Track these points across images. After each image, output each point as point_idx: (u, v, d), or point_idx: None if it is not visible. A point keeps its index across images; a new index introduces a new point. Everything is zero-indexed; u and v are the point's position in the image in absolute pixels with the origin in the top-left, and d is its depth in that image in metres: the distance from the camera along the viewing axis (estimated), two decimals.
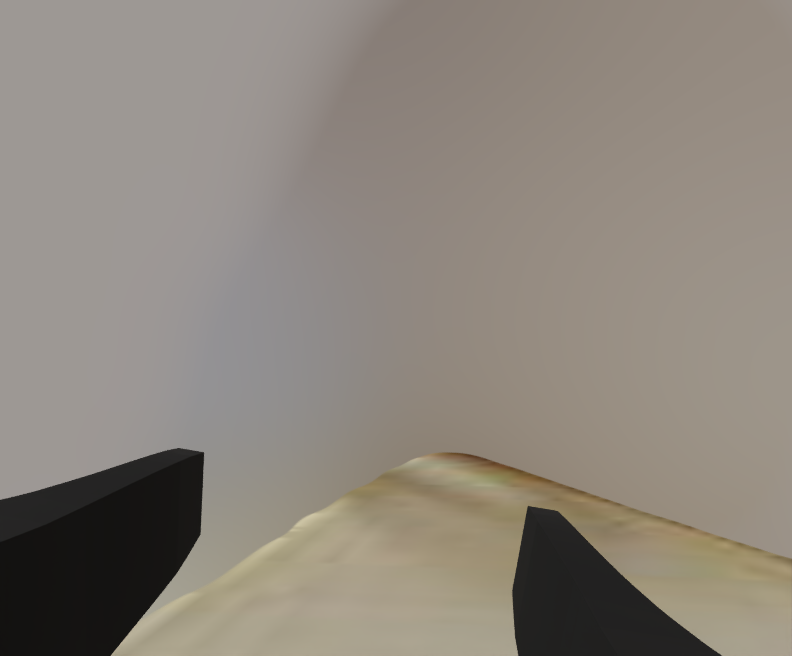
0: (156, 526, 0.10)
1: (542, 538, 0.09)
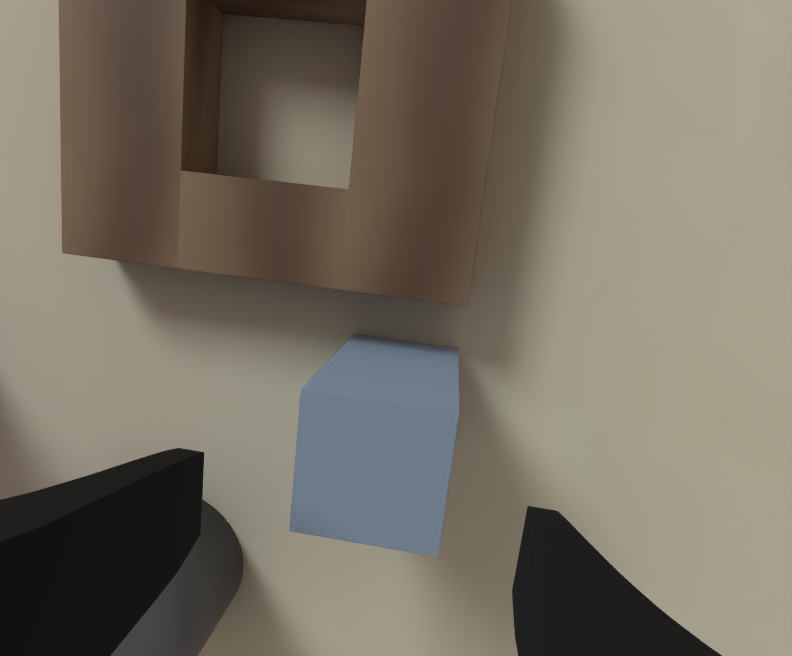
0: (156, 526, 0.10)
1: (542, 538, 0.09)
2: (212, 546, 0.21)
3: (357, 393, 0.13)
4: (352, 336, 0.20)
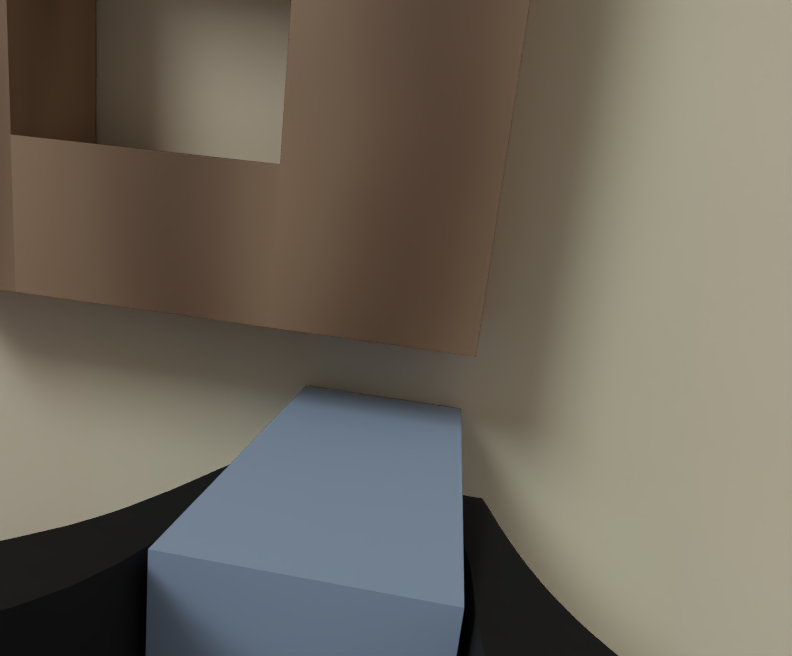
0: None
1: None
2: None
3: (263, 553, 0.07)
4: None
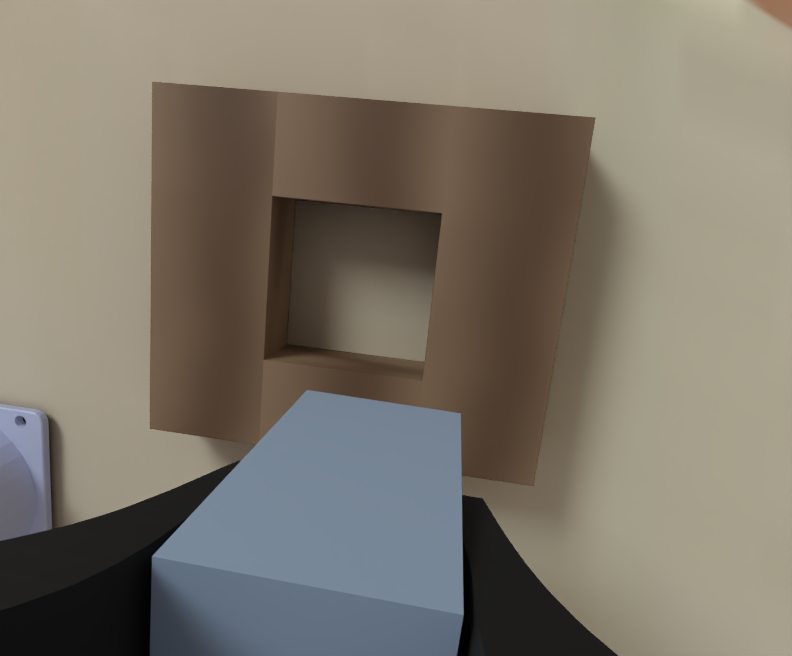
0: None
1: None
2: None
3: (266, 560, 0.07)
4: (302, 395, 0.13)
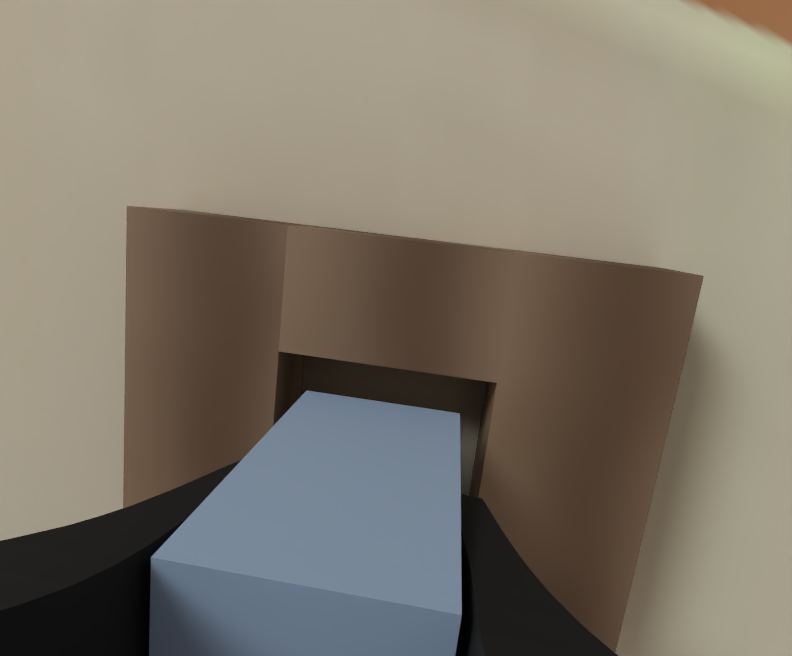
0: None
1: None
2: None
3: (264, 560, 0.07)
4: (302, 395, 0.13)
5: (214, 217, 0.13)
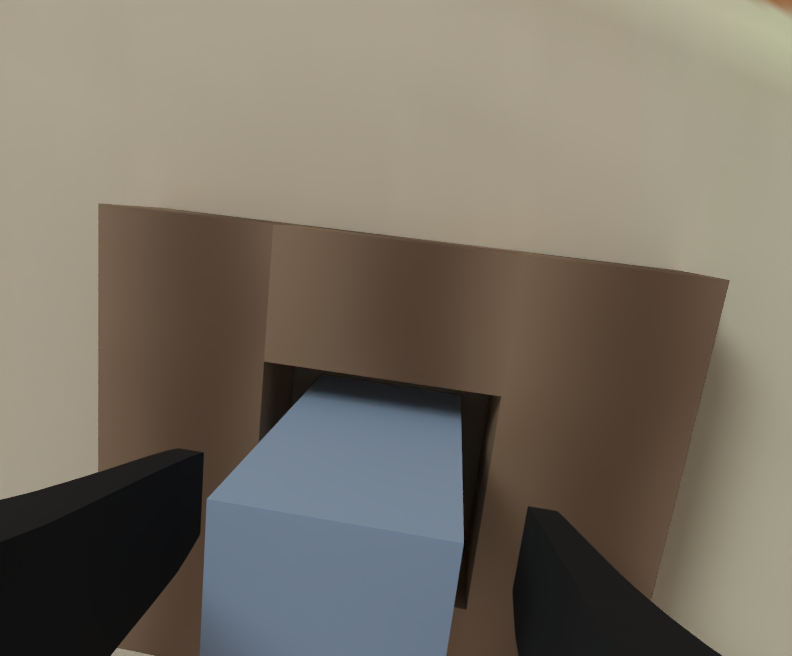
0: (156, 526, 0.10)
1: (542, 538, 0.09)
2: None
3: (299, 503, 0.08)
4: (318, 379, 0.14)
5: (193, 216, 0.12)
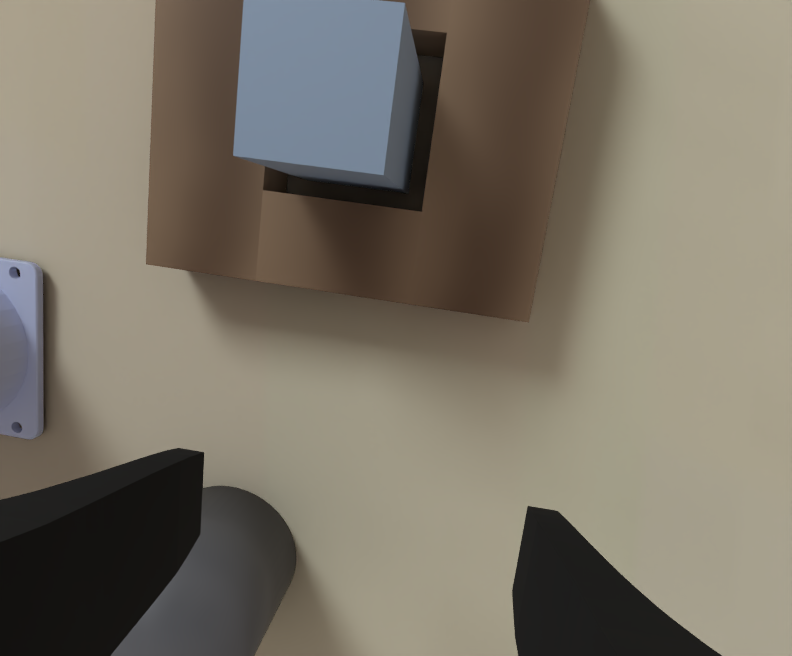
0: (156, 526, 0.10)
1: (542, 538, 0.09)
2: (268, 537, 0.22)
3: None
4: None
5: None
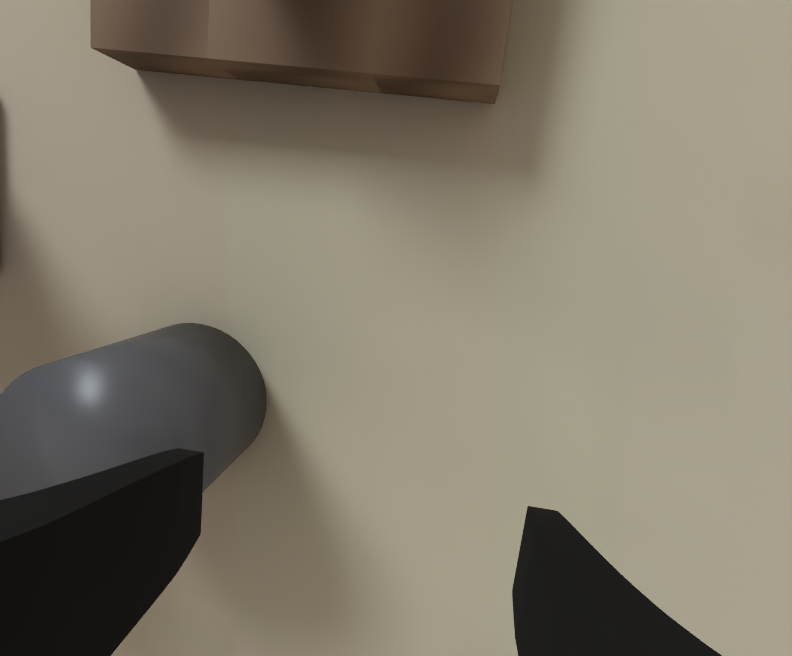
0: (156, 526, 0.10)
1: (542, 538, 0.09)
2: (233, 362, 0.20)
3: None
4: None
5: None
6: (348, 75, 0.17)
